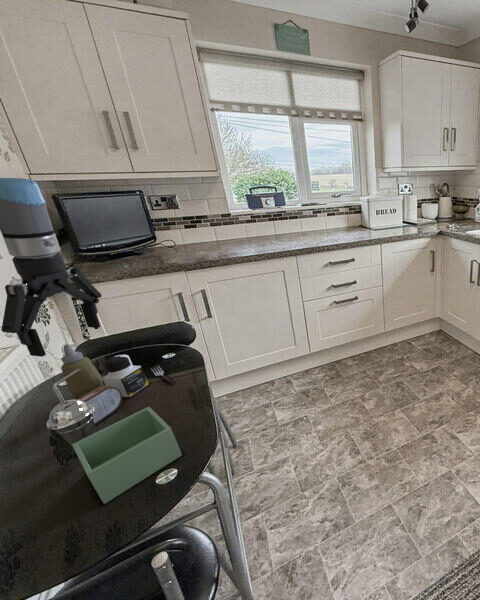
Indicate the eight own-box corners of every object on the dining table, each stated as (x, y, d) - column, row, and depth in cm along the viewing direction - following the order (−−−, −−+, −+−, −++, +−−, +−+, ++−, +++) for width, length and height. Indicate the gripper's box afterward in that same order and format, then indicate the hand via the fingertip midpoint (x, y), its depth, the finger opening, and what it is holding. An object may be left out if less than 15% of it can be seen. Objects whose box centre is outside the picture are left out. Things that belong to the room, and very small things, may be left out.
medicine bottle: (129, 397, 101) (113, 364, 97) (110, 397, 102) (94, 364, 98) (149, 384, 107) (135, 352, 103) (131, 383, 109) (117, 352, 105)
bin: (87, 471, 74) (71, 444, 72) (160, 431, 85) (148, 406, 82) (104, 504, 66) (86, 475, 63) (182, 455, 76) (170, 428, 73)
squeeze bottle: (96, 399, 102) (70, 349, 95) (67, 404, 101) (39, 353, 94) (113, 384, 109) (90, 336, 103) (86, 389, 108) (61, 341, 102)
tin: (120, 402, 99) (109, 379, 96) (129, 403, 98) (117, 379, 95) (64, 440, 85) (49, 414, 82) (73, 441, 85) (58, 415, 82)
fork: (169, 387, 105) (166, 381, 104) (152, 373, 114) (150, 368, 113) (177, 382, 107) (175, 377, 106) (160, 369, 116) (158, 364, 115)
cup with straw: (66, 448, 82) (27, 382, 75) (112, 429, 87) (79, 365, 80) (65, 468, 76) (22, 397, 69) (114, 445, 81) (79, 378, 74)
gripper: (-17, 274, 59) (26, 371, 67) (104, 243, 82) (126, 318, 90) (-57, 270, 59) (-9, 368, 67) (75, 240, 82) (99, 316, 90)
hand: (68, 340), depth 79 cm, fingers open, 13 cm apart
